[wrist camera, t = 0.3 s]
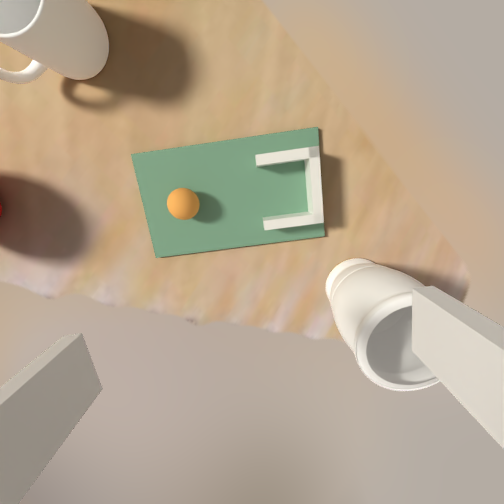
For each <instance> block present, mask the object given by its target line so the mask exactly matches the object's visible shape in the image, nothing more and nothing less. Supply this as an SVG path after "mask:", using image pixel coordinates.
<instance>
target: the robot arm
mask: <svg viewBox="0 0 504 504" xmlns="http://www.w3.org/2000/svg"><path fill="white" fill-rule="evenodd" d="M412 351H413V352H414V353H415V354H416V356H417V357H418V358H419V359H420V360H421V361H422V362H423V363H424V364H425V365H426V366H427V367H428V368H429V369H430V371H431V372H432V373H433V374H434V375H435V376H436V377H437V378H438V379H439V380H440V381H441V382H442V383H443V385H444V386H445V387H446V388H447V389H448V390H449V391H450V392H451V393H452V394H453V395H454V396H455V397H456V398H457V400H458V401H459V402H460V403H461V404H462V405H463V406H464V407H465V408H466V409H467V410H468V411H469V412H470V414H471V415H472V416H473V417H474V418H475V419H476V420H477V421H478V422H479V423H480V424H481V425H482V426H483V427H484V429H485V430H486V431H487V432H488V433H489V434H490V435H491V436H492V437H493V438H494V439H495V440H496V441H497V442H498V444H499V445H500V446H501V447H502V448H503V449H504V327H503V326H501V325H500V324H498V323H496V322H494V321H493V320H491V319H489V318H488V317H486V316H484V315H482V314H481V313H479V312H477V311H476V310H474V309H472V308H470V307H469V306H467V305H465V304H464V303H462V302H460V301H458V300H457V299H455V298H453V297H452V296H450V295H448V294H446V293H445V292H443V291H441V290H440V289H438V288H436V287H434V286H427V287H419V288H412ZM101 390H102V386H101V383H100V381H99V378H98V375H97V373H96V370H95V367H94V365H93V362H92V359H91V356H90V354H89V351H88V348H87V346H86V343H85V340H84V338H83V335H82V333H80V334H73V335H66V336H63V337H62V338H60V339H59V340H58V341H57V342H56V343H54V344H53V345H52V346H51V347H49V348H48V349H47V350H46V351H44V352H43V353H42V354H41V355H40V356H38V357H37V358H36V359H35V360H33V361H32V362H31V363H30V364H28V365H27V366H26V367H25V368H24V369H22V370H21V371H20V372H19V373H17V374H16V375H15V376H14V377H12V378H11V379H10V380H9V381H7V382H6V383H5V384H4V385H2V386H1V387H0V504H19V502H20V501H21V499H22V498H23V497H24V495H25V494H26V493H27V491H28V490H29V489H30V487H31V486H32V485H33V483H34V482H35V480H36V479H37V478H38V476H39V475H40V474H41V472H42V471H43V470H44V468H45V467H46V465H47V464H48V463H49V461H50V460H51V459H52V457H53V456H54V455H55V453H56V452H57V450H58V449H59V448H60V446H61V445H62V444H63V442H64V441H65V439H66V438H67V437H68V435H69V434H70V433H71V431H72V430H73V429H74V427H75V426H76V424H77V423H78V422H79V420H80V419H81V418H82V416H83V415H84V414H85V412H86V411H87V409H88V408H89V407H90V405H91V404H92V403H93V401H94V400H95V399H96V397H97V396H98V394H99V393H100V392H101Z"/></svg>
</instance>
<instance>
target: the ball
mask: <svg viewBox="0 0 504 504" xmlns="http://www.w3.org/2000/svg"><path fill="white" fill-rule="evenodd" d="M199 206H200V203H199V199H198V197H197V195H196V194H195V193H194V192H193V191H192V190H190V189H187V188H178V189H175V190H174V191H172V192H171V193H170V195H169V196H168V199H167V207H168V210H169V212H170V213H171V214H172V215H173V216H174V217H175V218H177V219H181V220H187V219H191V218H192V217H194V216H195V215H196V214H197V212H198V210H199Z"/></svg>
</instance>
